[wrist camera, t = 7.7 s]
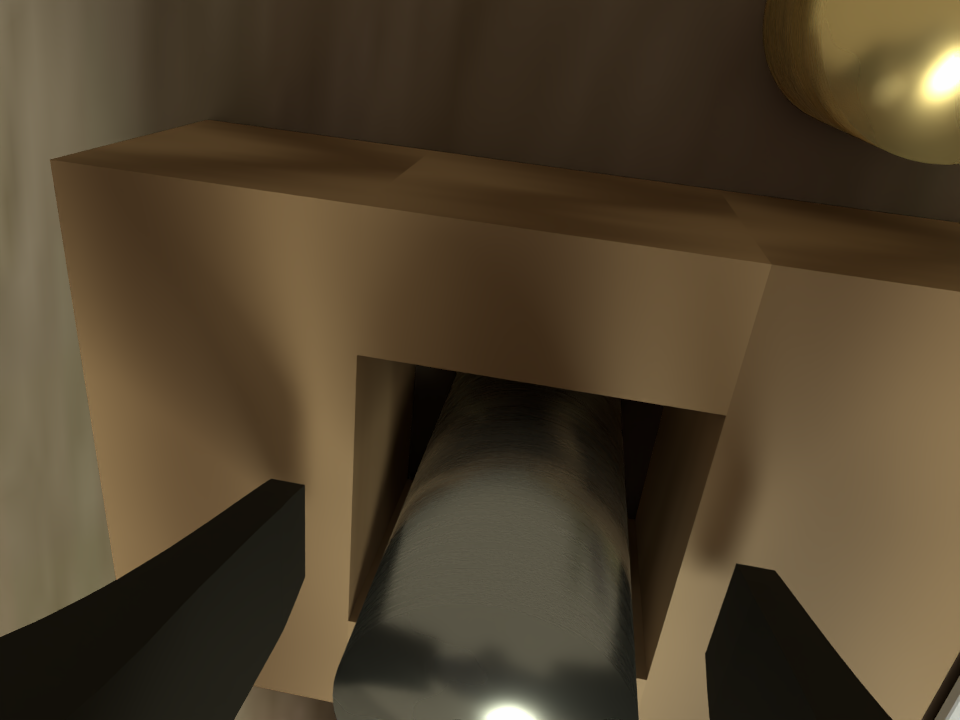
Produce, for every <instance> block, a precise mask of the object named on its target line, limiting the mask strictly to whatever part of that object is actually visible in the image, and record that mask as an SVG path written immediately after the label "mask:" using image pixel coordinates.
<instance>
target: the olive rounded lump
mask: <svg viewBox="0 0 960 720" xmlns="http://www.w3.org/2000/svg"><path fill="white" fill-rule="evenodd" d="M763 44H764V50H765V55H766V60H767V63H768V66H769V69H770V72H771V74H772V76H773V78H774V80H775V82H776V84H777V85H778V87H779V88H780V90H781V91H782V92H783V94H784V95H785V96H786V97H787V98H788V99H789V100H790V101H791V102H792V103H793V104H794V105H795V106H796V107H797V108H799V109H800V110H802V111H803V112H804V113H806V114H808V115H810V116H812V117H814V118H815V119H817V120H820V121H822V122H824V123H826V124H828V125H830V126H833V127H835V128H837V129H839V130H841V131H844V132H846V133H848V134H850V135H852V136H854V137H857V138H859V139H861V140H863V141H865V142H867V143H870V144H872V145H874V146H876V147H878V148H881V149H883V150H885V151H887V152H889V153H891V154H894V155H897V156H900V157H903V158H905V159H908V160H913V161H918V162H923V163H928V164H943V165H952V164H960V0H767V1H766V6H765V11H764V19H763Z"/></svg>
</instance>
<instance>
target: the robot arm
mask: <svg viewBox="0 0 960 720" xmlns="http://www.w3.org/2000/svg"><path fill="white" fill-rule="evenodd" d="M304 579H305V485H304V484H298V483H293V482H287V481H282V480H276V479H269V480H268V481H266V482H265V483H263V484H262V485H260V486H259V487H257V488H256V489H254V490H253V491H252V492H250V493H249V494H247V495H246V496H244V497H243V498H241V499H240V500H239V501H237V502H236V503H234V504H233V505H231V506H230V507H229V508H227V509H226V510H224V511H223V512H221V513H220V514H218V515H217V516H216V517H214V518H213V519H211V520H210V521H208V522H207V523H205V524H204V525H202V526H201V527H199V528H198V529H196V530H195V531H193V532H192V533H190V534H189V535H187V536H186V537H184V538H183V539H181V540H180V541H178V542H177V543H175V544H174V545H172V546H171V547H169V548H168V549H166V550H165V551H163V552H161V553H160V554H158V555H156V556H155V557H153V558H152V559H150V560H148V561H147V562H145V563H143V564H142V565H140V566H138V567H137V568H135V569H133V570H132V571H130V572H129V573H127V574H125V575H124V576H122V577H120V578H119V579H117V580H115V581H113V582H112V583H110V584H108V585H106V586H105V587H103V588H101V589H99V590H97V591H95V592H94V593H92V594H90V595H88V596H86V597H84V598H82V599H80V600H78V601H76V602H74V603H72V604H70V605H68V606H66V607H65V608H63V609H61V610H59V611H57V612H55V613H53V614H51V615H49V616H47V617H44V618H42V619H40V620H38V621H36V622H34V623H32V624H29V625H27V626H25V627H22V628H20V629H18V630H16V631H13V632H11V633H9V634H6V635H4V636H2V637H0V720H234V719H235V717H236V715H237V713H238V712H239V710H240V708H241V706H242V704H243V703H244V701H245V699H246V697H247V696H248V694H249V692H250V690H251V688H252V687H253V685H254V683H255V681H256V680H257V678H258V676H259V674H260V672H261V671H262V669H263V667H264V665H265V663H266V662H267V660H268V658H269V656H270V654H271V653H272V651H273V649H274V647H275V645H276V643H277V642H278V640H279V638H280V636H281V634H282V632H283V630H284V628H285V626H286V623H287V621H288V619H289V616H290V614H291V611H292V609H293V607H294V604H295V602H296V599H297V597H298V594H299V591H300V589H301V586H302V584H303V581H304ZM705 663H706V681H707V695H708V708H709V719H710V720H893V719H892V718H891V717H890V716H889V715H888V714H887V713H886V712H885V710H884V709H883V708H882V707H881V706H880V704H879V703H878V702H877V701H876V700H875V698H874V697H873V696H872V695H871V694H870V693H869V691H868V690H867V689H866V688H865V687H864V685H863V684H862V683H861V682H860V680H859V679H858V678H857V677H856V675H855V674H854V673H853V672H852V670H851V669H850V668H849V667H848V665H847V664H846V663H845V662H844V660H843V659H842V658H841V657H840V655H839V654H838V653H837V651H836V650H835V649H834V648H833V646H832V645H831V644H830V642H829V641H828V640H827V638H826V637H825V636H824V634H823V633H822V632H821V631H820V629H819V628H818V627H817V625H816V624H815V623H814V621H813V620H812V619H811V617H810V616H809V615H808V613H807V612H806V611H805V609H804V608H803V607H802V605H801V604H800V603H799V601H798V600H797V599H796V597H795V596H794V594H793V593H792V592H791V590H790V589H789V588H788V586H787V585H786V584H785V582H784V581H783V580H782V579H781V577H780V576H779V575H778V573H777V572H776V571H775V570H770V569H765V568H759V567H754V566H748V565H743V564H737V563H736V566H735V569H734V571H733V574H732V577H731V580H730V583H729V586H728V589H727V592H726V595H725V598H724V600H723V603H722V606H721V609H720V612H719V615H718V618H717V621H716V624H715V627H714V630H713V632H712V635H711V638H710V641H709V644H708V647H707V650H706V653H705ZM935 720H960V676H959V678H958V680H957V682H956V683H955V685H954V687H953V688H952V690H951V692H950V694H949V695H948V697H947V699H946V701H945V702H944V704H943V706H942V708H941V709H940V711H939V713H938V715H937V716H936V718H935Z"/></svg>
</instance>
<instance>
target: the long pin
mask: <svg viewBox="0 0 960 720" xmlns="http://www.w3.org/2000/svg"><path fill="white" fill-rule="evenodd" d="M333 705H334V712H335V715H336V719H337V720H639V715H638V697H637V680H636V662H635V645H634V628H633V610H632V593H631V575H630V558H629V541H628V523H627V506H626V488H625V471H624V454H623V436H622V419H621V401H620V398H616V397H610V396H604V395H598V394H592V393H586V392H580V391H574V390H568V389H561V388H555V387H549V386H543V385H537V384H531V383H525V382H519V381H513V380H507V379H501V378H495V377H489V376H482V375H476V374H470V373H464V372H458V371H457V373H456V376H455V378H454V381H453V383H452V386H451V388H450V391H449V393H448V396H447V398H446V401H445V403H444V406H443V408H442V411H441V413H440V416H439V418H438V421H437V423H436V425H435V428H434V430H433V433H432V435H431V438H430V440H429V443H428V445H427V448H426V450H425V453H424V455H423V458H422V460H421V463H420V465H419V468H418V470H417V473H416V475H415V478H414V480H413V482H412V485H411V487H410V490H409V492H408V495H407V497H406V500H405V502H404V505H403V507H402V510H401V512H400V515H399V517H398V520H397V522H396V525H395V527H394V530H393V532H392V535H391V537H390V539H389V542H388V544H387V547H386V549H385V552H384V554H383V557H382V559H381V562H380V564H379V567H378V569H377V572H376V574H375V577H374V579H373V582H372V584H371V587H370V589H369V592H368V594H367V596H366V599H365V601H364V604H363V606H362V609H361V611H360V614H359V616H358V619H357V621H356V624H355V626H354V629H353V631H352V634H351V636H350V639H349V641H348V644H347V646H346V649H345V651H344V653H343V656H342V658H341V661H340V663H339V666H338V668H337V672H336V675H335V679H334V683H333Z"/></svg>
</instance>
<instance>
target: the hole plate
mask: <svg viewBox="0 0 960 720" xmlns="http://www.w3.org/2000/svg"><path fill="white" fill-rule="evenodd" d="M50 162H51V169H52V175H53V181H54V188H55V194H56V201H57V207H58V213H59V220H60V226H61V232H62V239H63V245H64V251H65V258H66V264H67V270H68V277H69V283H70V290H71V296H72V302H73V309H74V315H75V321H76V328H77V334H78V340H79V347H80V353H81V359H82V366H83V372H84V379H85V385H86V391H87V398H88V404H89V410H90V417H91V423H92V429H93V436H94V442H95V448H96V455H97V461H98V468H99V474H100V480H101V487H102V493H103V499H104V506H105V512H106V518H107V525H108V531H109V537H110V544H111V550H112V556H113V563H114V569H115V576H116V580H117V579H119V578H120V577H122V576H124V575H125V574H127V573H129V572H130V571H132V570H133V569H135V568H137V567H138V566H140V565H142V564H143V563H145V562H147V561H148V560H150V559H152V558H153V557H155V556H156V555H158V554H160V553H161V552H163V551H165V550H166V549H168V548H169V547H171V546H172V545H174V544H175V543H177V542H178V541H180V540H181V539H183V538H184V537H186V536H187V535H189V534H190V533H192V532H193V531H195V530H196V529H198V528H199V527H201V526H202V525H204V524H205V523H207V522H208V521H210V520H211V519H213V518H214V517H216V516H217V515H218V514H220V513H221V512H223V511H224V510H226V509H227V508H229V507H230V506H231V505H233V504H234V503H236V502H237V501H239V500H240V499H241V498H243V497H244V496H246V495H247V494H249V493H250V492H252V491H253V490H254V489H256V488H257V487H259V486H260V485H262V484H263V483H265V482H266V481H268V480H269V479H276V480H282V481H287V482H293V483H298V484H304V485H305V579H304V581H303V584H302V586H301V589H300V591H299V594H298V597H297V599H296V602H295V604H294V607H293V609H292V611H291V614H290V616H289V619H288V621H287V623H286V626H285V628H284V630H283V632H282V634H281V636H280V638H279V640H278V642H277V643H276V645H275V647H274V649H273V651H272V653H271V654H270V656H269V658H268V660H267V662H266V663H265V665H264V667H263V669H262V671H261V672H260V674H259V676H258V678H257V680H256V681H255V683H254V685H253V686H256V687H261V688H266V689H270V690H275V691H280V692H285V693H290V694H294V695H299V696H304V697H309V698H314V699H318V700H323V701H328V702H333V683H334V679H335V675H336V672H337V668H338V666H339V663H340V661H341V658H342V656H343V653H344V651H345V649H346V646H347V644H348V641H349V639H350V636H351V634H352V631H353V629H354V626H355V624H356V621H357V619H358V616H359V614H360V611H361V609H362V606H363V604H364V601H365V599H366V596H367V594H368V592H369V589H370V587H371V584H372V582H373V579H374V577H375V574H376V572H377V569H378V567H379V564H380V562H381V559H382V557H383V554H384V552H385V549H386V547H387V544H388V542H389V539H390V537H391V535H392V532H393V530H394V527H395V525H396V522H397V520H398V517H399V515H400V512H401V510H402V507H403V505H404V502H405V500H406V497H407V495H408V492H409V490H410V487H411V485H412V482H413V480H411V479H408V465H409V452H410V438H411V425H412V411H413V398H414V385H415V371H416V365H422V366H428V367H434V368H440V369H446V370H452V371H458V372H464V373H470V374H476V375H482V376H489V377H495V378H501V379H507V380H513V381H519V382H525V383H531V384H537V385H543V386H549V387H555V388H561V389H568V390H574V391H580V392H586V393H592V394H598V395H604V396H610V397H616V398H622V399H628V400H634V401H641V402H647V403H653V404H659V405H664V408H663V412H662V416H661V420H660V424H659V428H658V432H657V436H656V440H655V444H654V448H653V452H652V456H651V460H650V463H649V467H648V471H647V475H646V479H645V483H644V487H643V491H642V495H641V499H640V503H639V507H638V511H637V515H636V519H635V520H634V519H628V518H627V523H628V541H629V558H630V575H631V593H632V610H633V628H634V645H635V662H636V680H637V697H638V715H639V720H710V719H709V708H708V695H707V681H706V663H705V653H706V650H707V647H708V644H709V641H710V638H711V635H712V632H713V630H714V627H715V624H716V621H717V618H718V615H719V612H720V609H721V606H722V603H723V600H724V598H725V595H726V592H727V589H728V586H729V583H730V580H731V577H732V574H733V571H734V569H735V566H736V563H737V564H743V565H748V566H754V567H759V568H765V569H770V570H775V571H776V572H777V573H778V575H779V576H780V577H781V579H782V580H783V581H784V582H785V584H786V585H787V586H788V588H789V589H790V590H791V592H792V593H793V594H794V596H795V597H796V599H797V600H798V601H799V603H800V604H801V605H802V607H803V608H804V609H805V611H806V612H807V613H808V615H809V616H810V617H811V619H812V620H813V621H814V623H815V624H816V625H817V627H818V628H819V629H820V631H821V632H822V633H823V634H824V636H825V637H826V638H827V640H828V641H829V642H830V644H831V645H832V646H833V648H834V649H835V650H836V651H837V653H838V654H839V655H840V657H841V658H842V659H843V660H844V662H845V663H846V664H847V665H848V667H849V668H850V669H851V670H852V672H853V673H854V674H855V675H856V677H857V678H858V679H859V680H860V682H861V683H862V684H863V685H864V687H865V688H866V689H867V690H868V691H869V693H870V694H871V695H872V696H873V697H874V698H875V700H876V701H877V702H878V703H879V704H880V706H881V707H882V708H883V709H884V710H885V712H886V713H887V714H888V715H889V716H890V717H891V718H892V719H893V720H921V719H922V718H923V716H924V714H925V712H926V710H927V709H928V707H929V705H930V703H931V702H932V700H933V698H934V696H935V695H936V693H937V691H938V689H939V687H940V686H941V684H942V682H943V680H944V679H945V677H946V675H947V673H948V671H949V670H950V668H951V666H952V664H953V663H954V661H955V659H956V657H957V656H958V654H959V652H960V223H957V222H950V221H942V220H935V219H928V218H920V217H913V216H906V215H899V214H891V213H884V212H877V211H869V210H862V209H855V208H848V207H840V206H833V205H826V204H818V203H811V202H804V201H797V200H789V199H782V198H775V197H767V196H760V195H753V194H746V193H738V192H731V191H724V190H716V189H709V188H702V187H695V186H687V185H680V184H673V183H665V182H658V181H651V180H643V179H636V178H629V177H622V176H614V175H607V174H600V173H592V172H585V171H578V170H571V169H563V168H556V167H549V166H541V165H534V164H527V163H520V162H512V161H505V160H498V159H490V158H483V157H476V156H469V155H461V154H454V153H447V152H439V151H432V150H425V149H418V148H410V147H403V146H396V145H388V144H381V143H374V142H367V141H359V140H352V139H345V138H337V137H330V136H323V135H316V134H308V133H301V132H294V131H286V130H279V129H272V128H265V127H257V126H250V125H243V124H235V123H228V122H221V121H214V120H204V121H200V122H196V123H192V124H189V125H185V126H181V127H177V128H173V129H169V130H165V131H161V132H157V133H153V134H149V135H145V136H141V137H137V138H133V139H129V140H125V141H122V142H118V143H114V144H110V145H106V146H102V147H98V148H94V149H90V150H86V151H82V152H78V153H74V154H70V155H66V156H62V157H59V158H55V159H51V160H50Z"/></svg>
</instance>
